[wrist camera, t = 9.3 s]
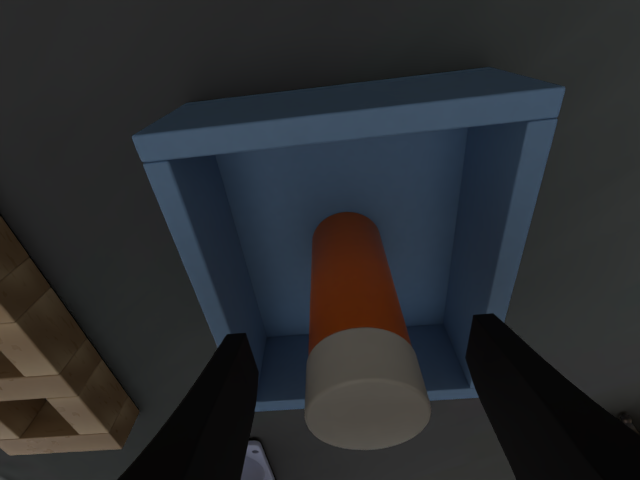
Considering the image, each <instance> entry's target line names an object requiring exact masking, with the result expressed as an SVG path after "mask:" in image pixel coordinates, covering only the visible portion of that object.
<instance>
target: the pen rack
mask: <svg viewBox="0 0 640 480" xmlns="http://www.w3.org/2000/svg"><path fill="white" fill-rule="evenodd" d="M44 398H46V400H47V401H46V400H45V399H44ZM138 414H139V410H138V409H137V407H136V406H135V404H134V403H133V402H132V400H131V399H130V397H129V396H127V394H126V392H125V391H124V389H123V388H122V387H121V385H120V384H119V382H118V381H117V380H116V378H115V377H114V375H113V374H112V373H111V371H110V370H109V368H108V367H107V366H106V364H105V363H104V361H103V360H102V359H101V357H100V356H99V354H98V353H97V351H96V350H95V349H94V347H93V346H92V344H91V343H90V341H89V340H88V339H87V338H86V336H85V334H84V333H83V331H82V330H81V329H80V327H79V326H78V324H77V323H76V322H75V320H74V319H73V317H72V316H71V315H70V313H69V312H68V310H67V309H66V308H65V306H64V305H63V303H62V302H61V300H60V299H59V298H58V296H57V295H56V293H55V292H54V291H53V289H52V288H50V285H49V284H48V282H47V281H46V279H45V278H44V277H43V275H42V274H41V272H40V271H39V270H38V268H37V267H36V265H35V264H34V263H33V261H32V260H31V259H30V258H29V255H28V254H27V252H26V251H25V249H24V248H23V247H22V245H21V244H20V242H19V241H18V240H17V238H16V237H15V235H14V234H13V233H12V231H11V230H10V228H9V227H8V225H7V224H6V223H5V221H4V220H3V218H2V217H1V216H0V448H1V449H2V450H4V451H5V452H6V453H7V454H9V455H26V454H44V453H61V452H78V451H95V450H113V449H122V448H123V446H124V444H125V442H126V440H127V438H128V435H129V433H130V431H131V429H132V427H133V425H134V422H135V420H136V418H137V416H138Z"/></svg>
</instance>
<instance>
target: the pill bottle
mask: <svg viewBox="0 0 640 480" xmlns="http://www.w3.org/2000/svg"><path fill="white" fill-rule="evenodd" d="M304 416H305V421H306V424H307V427H308V428H309V430H310V431H311V432H312V434H313V435H315V436H316V437H317V438H318V439H320V440H322V441H323V442H326V443H328V444H330V445H333V446H336V447H340V448H345V449H353V450H374V449H381V448H387V447H391V446H395V445H398V444H400V443H403V442H405V441H407V440H409V439H411V438H413V437H415V436H416V435H417V434H419V433H420V432H421V431H422V430H423V429H424V428H425V427H426V425H427V424H428V422H429V420H430V416H431V405H430V401H429V398H428V394H427V391H426V387H425V384H424V380H423V377H422V373H421V370H420V367H419V363H418V360H417V356H416V353H415V351H414V349H413V348H412V345H411V342H410V338H409V335H408V331H407V328H406V324H405V321H404V317H403V314H402V310H401V307H400V303H399V300H398V296H397V293H396V289H395V286H394V282H393V278H392V275H391V271H390V268H389V264H388V261H387V257H386V254H385V250H384V247H383V243H382V240H381V236H380V233H379V230H378V228H377V226H376V225H375V224H374V223H373V221H371V220H370V219H369V218H367V217H366V216H364V215H361V214H358V213H354V212H342V213H337V214H334V215H331V216H329V217H328V218H326V219H325V220H323V221H322V222H321V223H320V224H319V225H318V226H317V228H316V230H315V232H314V234H313V238H312V262H311V291H310V321H309V351H308V359H307V364H306V387H305V413H304Z"/></svg>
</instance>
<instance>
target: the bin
mask: <svg viewBox="0 0 640 480" xmlns="http://www.w3.org/2000/svg"><path fill="white" fill-rule="evenodd" d="M564 93H565V87H564V86H561V85H557V84H553V83H549V82H545V81H541V80H538V79H534V78H530V77H526V76H522V75H518V74H515V73H511V72H507V71H503V70H499V69H496V68H492V67H484V68H476V69H467V70H459V71H450V72H442V73H433V74H425V75H417V76H408V77H400V78H391V79H383V80H374V81H366V82H358V83H349V84H341V85H332V86H324V87H315V88H307V89H298V90H290V91H282V92H273V93H265V94H256V95H248V96H239V97H231V98H223V99H214V100H206V101H197V102H189V103H186V104H184V105H182V106H181V107H179V108H177V109H176V110H174V111H172V112H171V113H169V114H168V115H166V116H164V117H163V118H161V119H159V120H158V121H156V122H154V123H153V124H151V125H149V126H148V127H146V128H144V129H143V130H141V131H139V132H138V133H136V134H134V135H133V136H132V140H133V142H134V145H135V147H136V149H137V152H138V154H139V157H140V159H141V161H142V162H145V163H144V164H143V167H144V169H145V171H146V174H147V176H148V179H149V181H150V184H151V186H152V189H153V191H154V193H155V196H156V198H157V201H158V203H159V206H160V208H161V210H162V213H163V215H164V218H165V220H166V223H167V225H168V228H169V230H170V232H171V235H172V237H173V240H174V242H175V245H176V247H177V249H178V252H179V254H180V257H181V259H182V262H183V264H184V267H185V269H186V271H187V274H188V276H189V279H190V281H191V284H192V286H193V288H194V291H195V293H196V296H197V298H198V301H199V303H200V306H201V308H202V310H203V313H204V315H205V318H206V320H207V323H208V325H209V328H210V330H211V332H212V335H213V337H214V340H215V342H216V345H217V347H219V345H220V344H221V342H222V341H223V339H224V337H225V336H226V335H227V334H235V333H246V335H247V338H248V341H249V344H250V347H251V350H252V353H253V356H254V359H255V362H256V365H257V368H258V371H259V377H258V390H257V399H256V407H255V412H258V411H273V410H289V409H305V387H306V364H307V359H308V351H309V321H310V291H311V262H312V238H313V234H314V232H315V230H316V228H317V226H318V225H319V224H320V223H321V222H322V221H323V220H325V219H326V218H328V217H329V216H331V215H334V214H337V213H342V212H354V213H358V214H361V215H364V216H366V217H367V218H369V219H370V220H371V221H373V223H374V224H375V225H376V226H377V228H378V230H379V233H380V236H381V240H382V243H383V247H384V250H385V254H386V257H387V261H388V264H389V268H390V271H391V275H392V278H393V282H394V286H395V289H396V293H397V296H398V300H399V303H400V307H401V310H402V314H403V317H404V321H405V324H406V328H407V331H408V335H409V338H410V342H411V345H412V348H413V349H414V351H415V353H416V356H417V360H418V363H419V367H420V370H421V373H422V377H423V380H424V384H425V387H426V391H427V394H428V398H429V401H432V400H448V399H464V398H479V396H478V394H477V392H476V390H475V387H474V384H473V381H472V378H471V375H470V372H469V369H468V365H467V362H466V359H465V356H466V350H467V345H468V340H469V334H470V329H471V324H472V319H473V315H477V314H490V313H494V314H495V315H496V316H497V317H498V318H499V319H500V320H501V321H503V322H504V321H505V317H506V314H507V310H508V306H509V302H510V298H511V295H512V291H513V287H514V283H515V280H516V276H517V272H518V268H519V264H520V261H521V257H522V253H523V249H524V246H525V242H526V238H527V234H528V231H529V227H530V223H531V219H532V215H533V212H534V208H535V204H536V200H537V197H538V193H539V189H540V185H541V181H542V178H543V174H544V170H545V166H546V163H547V159H548V155H549V151H550V148H551V144H552V140H553V136H554V132H555V129H556V125H557V121H558V119H557V118H556V117H558V115H559V112H560V108H561V104H562V100H563V96H564Z"/></svg>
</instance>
